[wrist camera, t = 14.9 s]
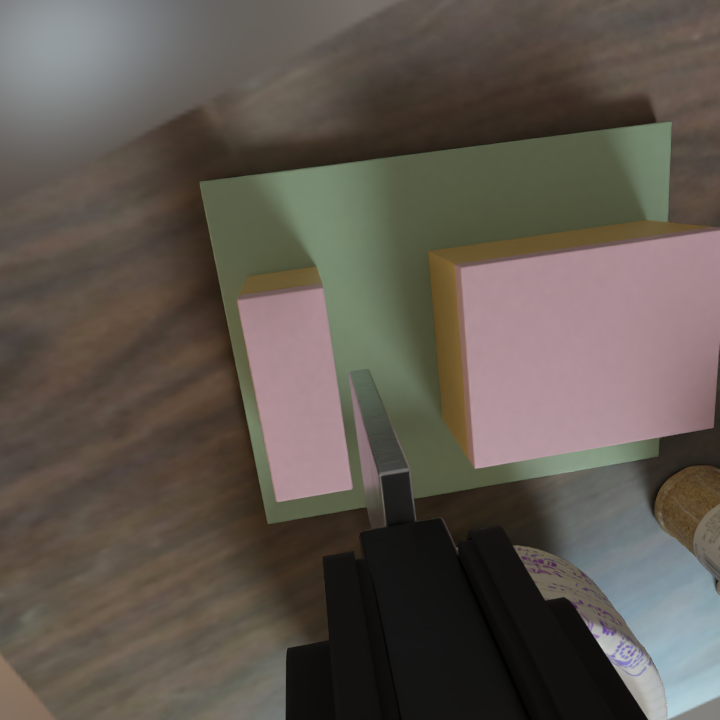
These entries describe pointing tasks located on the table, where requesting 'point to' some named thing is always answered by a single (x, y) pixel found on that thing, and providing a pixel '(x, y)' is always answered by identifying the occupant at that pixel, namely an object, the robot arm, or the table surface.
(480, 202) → the cake board
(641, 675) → the paper bowls
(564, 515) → the table surface
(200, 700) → the table surface
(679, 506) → the sprinkles bottle
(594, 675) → the robot arm
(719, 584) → the ceramic jug
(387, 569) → the knife
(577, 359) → the cake
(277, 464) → the slice
